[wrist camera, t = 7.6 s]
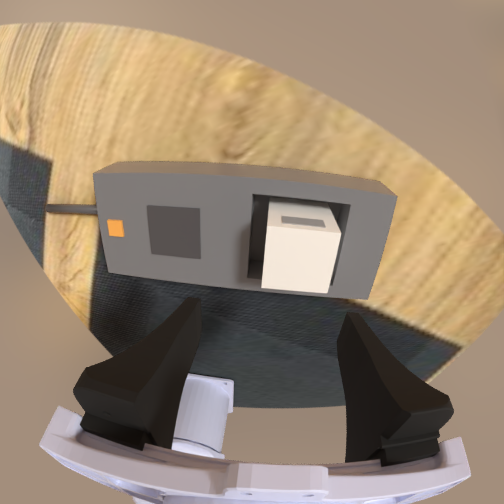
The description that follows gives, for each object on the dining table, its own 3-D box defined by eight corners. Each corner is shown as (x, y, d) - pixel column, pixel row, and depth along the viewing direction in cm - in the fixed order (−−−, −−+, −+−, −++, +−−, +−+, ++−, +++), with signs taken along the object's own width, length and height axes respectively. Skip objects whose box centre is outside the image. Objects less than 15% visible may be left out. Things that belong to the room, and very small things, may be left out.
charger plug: (265, 248, 21) (261, 287, 17) (269, 195, 19) (267, 224, 15) (318, 253, 21) (327, 293, 17) (327, 202, 19) (341, 232, 15)
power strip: (57, 243, 24) (35, 261, 21) (43, 166, 20) (16, 178, 17) (357, 274, 23) (368, 301, 20) (380, 181, 19) (398, 197, 16)
